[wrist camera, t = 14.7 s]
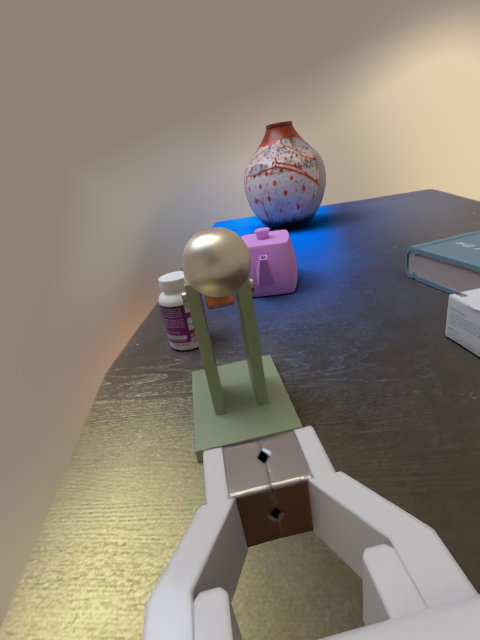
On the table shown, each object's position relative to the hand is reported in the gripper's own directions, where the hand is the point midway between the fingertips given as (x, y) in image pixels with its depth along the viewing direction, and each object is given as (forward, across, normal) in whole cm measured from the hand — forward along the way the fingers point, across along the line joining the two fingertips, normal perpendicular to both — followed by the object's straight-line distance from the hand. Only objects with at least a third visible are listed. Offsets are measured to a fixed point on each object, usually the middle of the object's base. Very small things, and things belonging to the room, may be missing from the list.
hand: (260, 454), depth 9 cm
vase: (+98, -27, +15) cm, 103 cm away
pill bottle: (+36, +4, +15) cm, 39 cm away
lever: (+15, 0, +2) cm, 15 cm away
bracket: (+20, 0, +14) cm, 25 cm away
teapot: (+51, -10, +15) cm, 54 cm away
